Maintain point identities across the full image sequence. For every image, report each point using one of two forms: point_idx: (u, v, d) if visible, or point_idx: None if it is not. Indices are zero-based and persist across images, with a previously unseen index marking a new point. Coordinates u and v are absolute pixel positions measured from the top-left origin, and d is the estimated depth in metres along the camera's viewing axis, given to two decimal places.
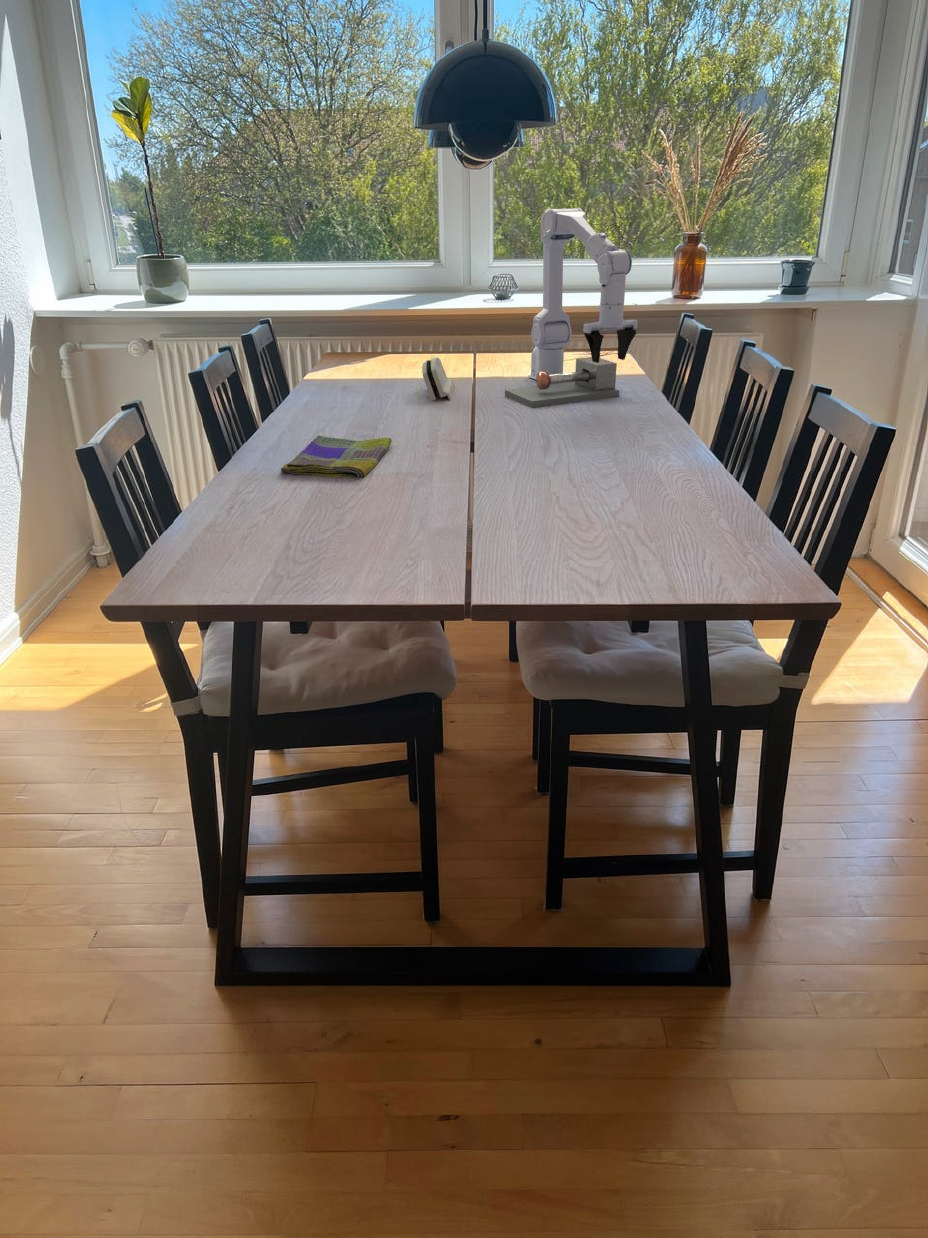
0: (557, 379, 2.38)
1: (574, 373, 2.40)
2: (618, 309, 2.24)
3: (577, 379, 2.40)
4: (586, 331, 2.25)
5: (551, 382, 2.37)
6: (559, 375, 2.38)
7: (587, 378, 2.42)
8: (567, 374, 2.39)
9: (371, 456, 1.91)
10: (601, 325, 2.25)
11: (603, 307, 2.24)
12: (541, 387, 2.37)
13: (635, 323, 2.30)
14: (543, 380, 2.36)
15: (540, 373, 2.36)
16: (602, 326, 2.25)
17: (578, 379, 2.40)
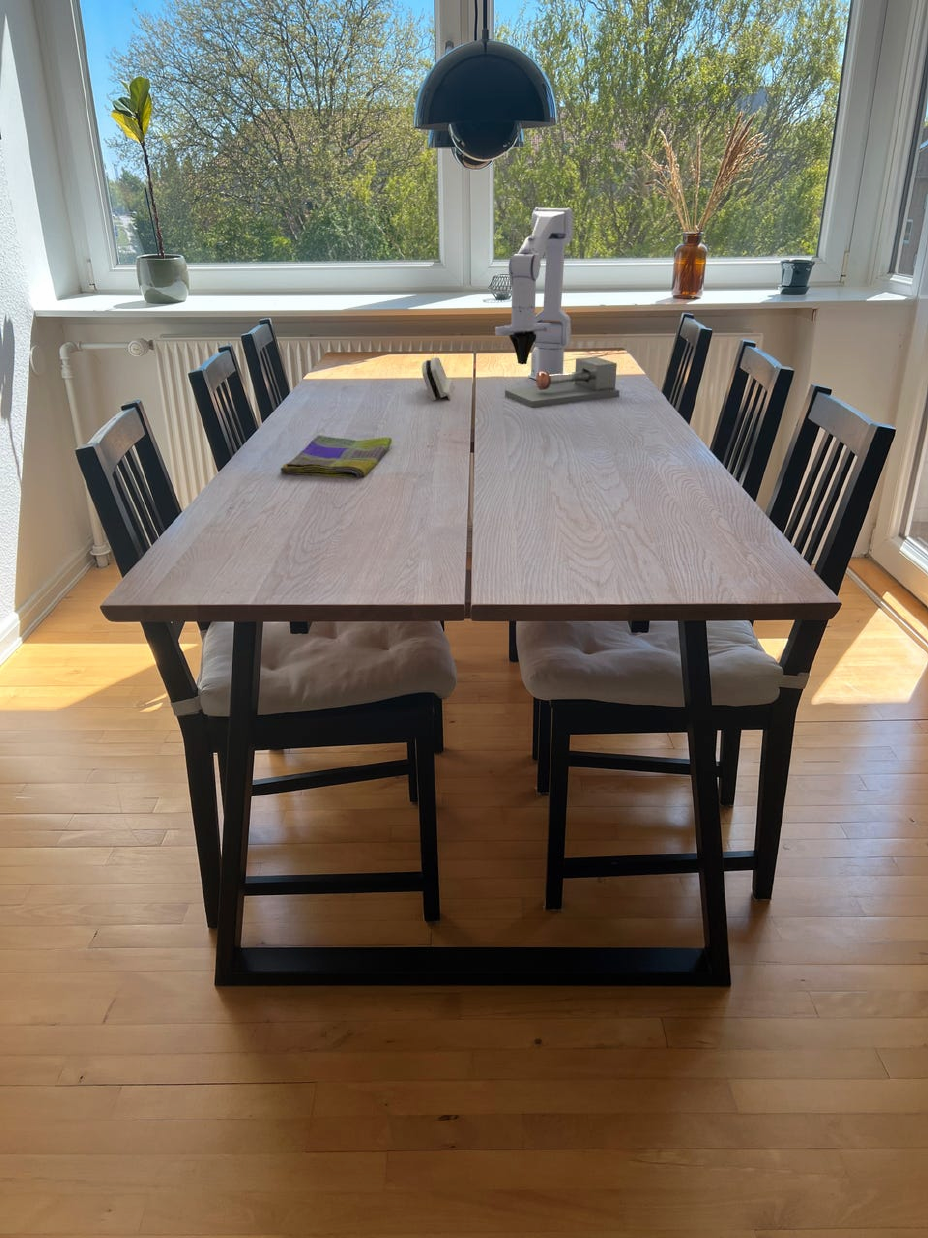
0: (557, 379, 2.38)
1: (574, 373, 2.40)
2: (529, 312, 2.25)
3: (577, 379, 2.40)
4: (497, 334, 2.26)
5: (551, 382, 2.37)
6: (559, 375, 2.38)
7: (587, 378, 2.42)
8: (567, 374, 2.39)
9: (371, 456, 1.91)
10: (512, 328, 2.26)
11: (514, 310, 2.25)
12: (541, 387, 2.37)
13: (548, 326, 2.31)
14: (543, 380, 2.36)
15: (540, 373, 2.36)
16: (513, 329, 2.26)
17: (578, 379, 2.40)
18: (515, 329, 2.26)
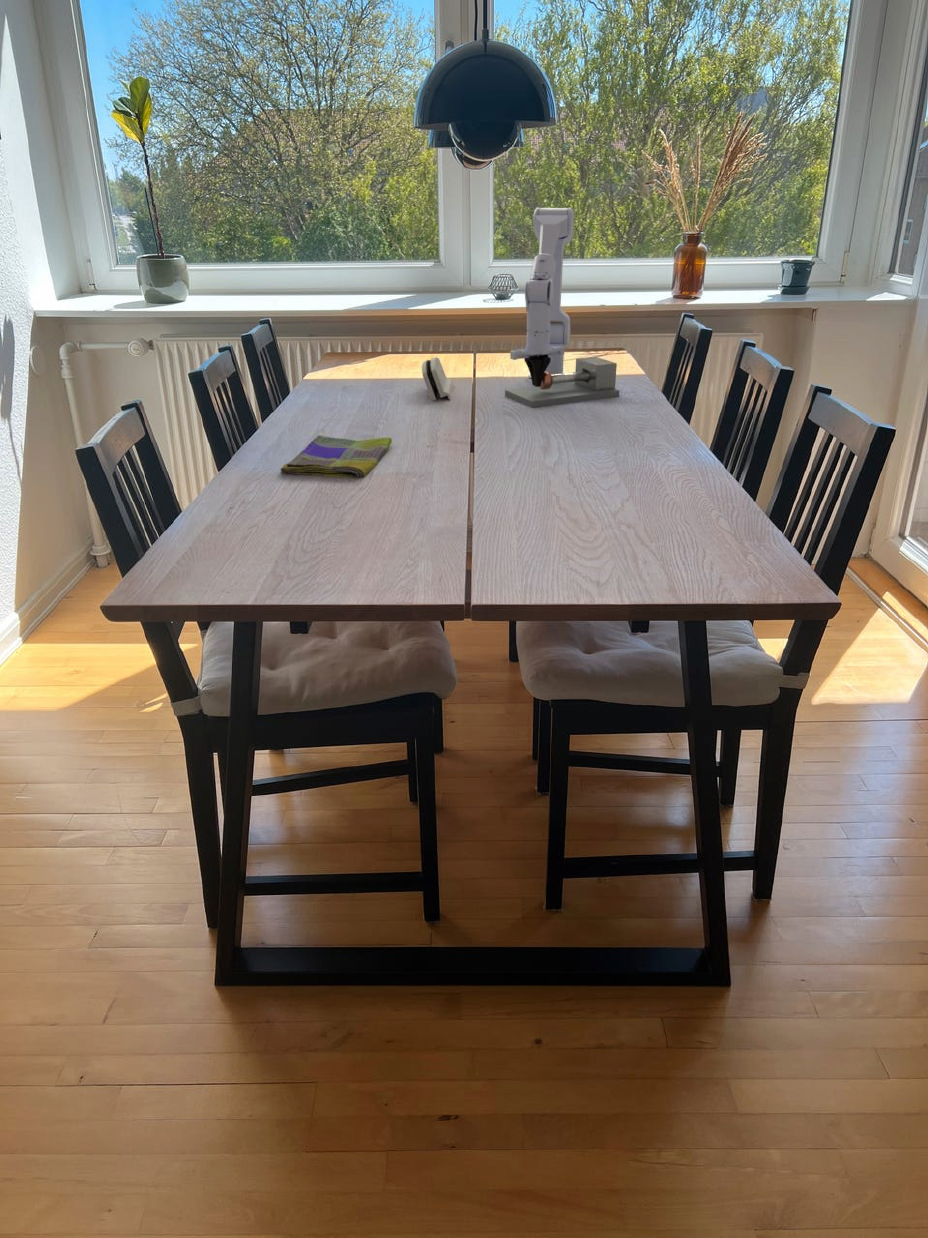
0: (559, 379, 2.38)
1: (576, 373, 2.40)
2: (544, 336, 2.29)
3: (579, 379, 2.41)
4: (512, 358, 2.30)
5: (553, 382, 2.37)
6: (561, 375, 2.38)
7: None
8: (569, 374, 2.39)
9: (371, 456, 1.91)
10: (527, 352, 2.30)
11: (529, 334, 2.30)
12: (543, 387, 2.37)
13: (562, 349, 2.35)
14: (545, 380, 2.36)
15: None
16: (528, 353, 2.30)
17: (580, 379, 2.41)
18: (530, 353, 2.30)
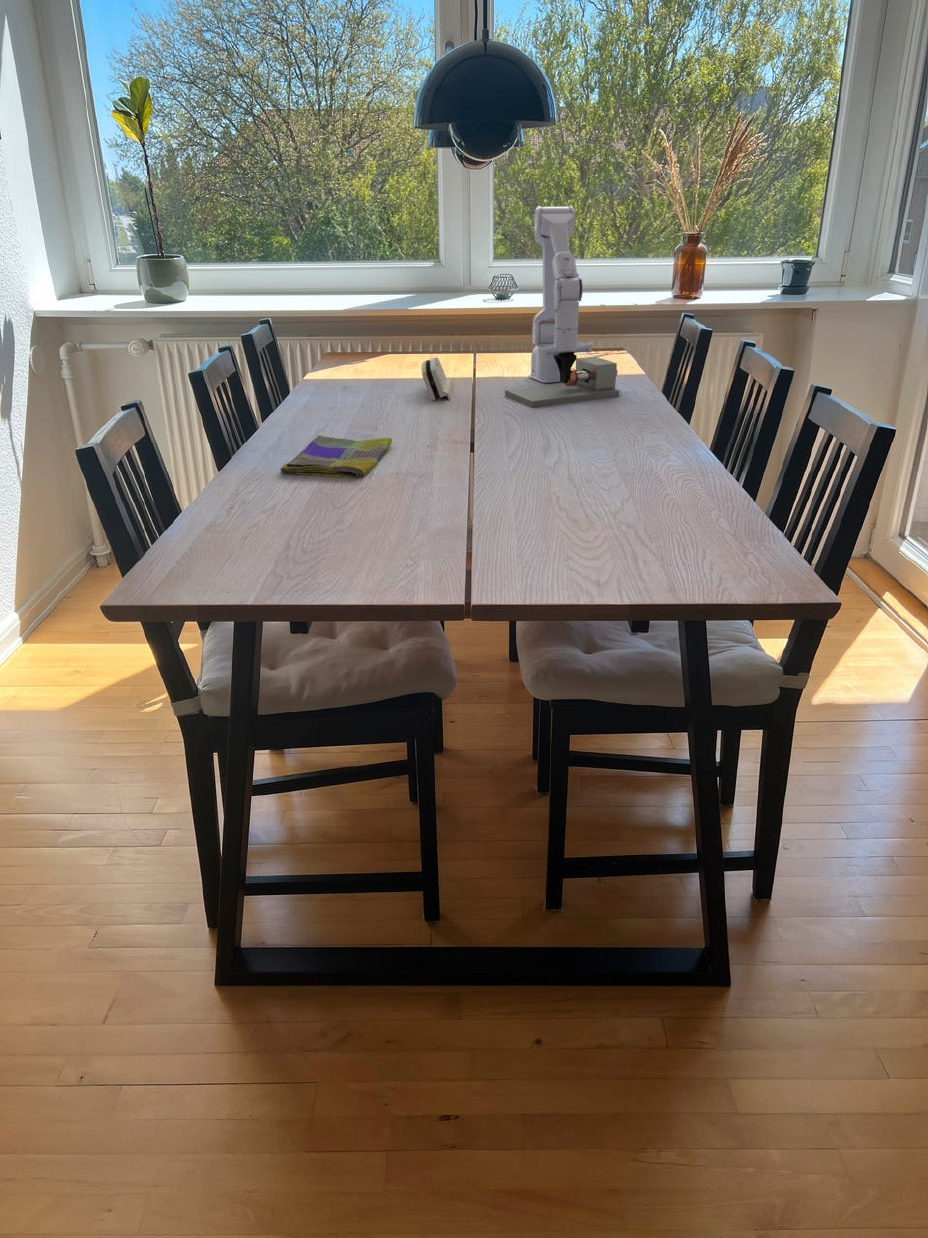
0: (584, 376, 2.41)
1: None
2: (572, 333, 2.32)
3: None
4: (541, 355, 2.34)
5: (578, 379, 2.40)
6: (586, 372, 2.41)
7: None
8: None
9: (371, 456, 1.91)
10: (555, 349, 2.33)
11: (557, 332, 2.33)
12: (568, 384, 2.40)
13: (589, 347, 2.38)
14: (570, 377, 2.39)
15: None
16: (556, 350, 2.33)
17: None
18: (558, 350, 2.33)
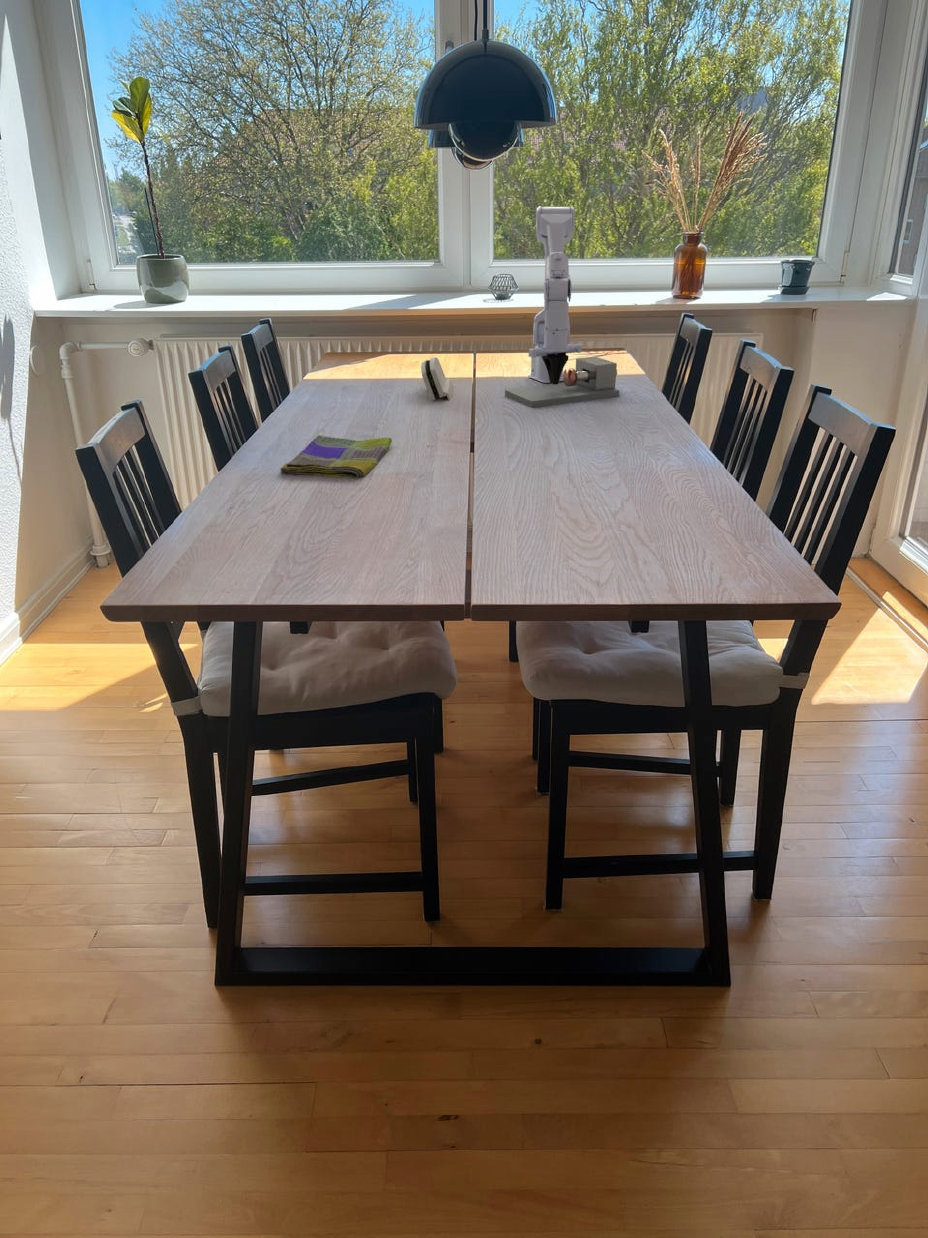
0: (583, 376, 2.41)
1: None
2: (562, 334, 2.31)
3: None
4: (531, 356, 2.32)
5: (578, 379, 2.40)
6: (586, 372, 2.41)
7: None
8: None
9: (371, 456, 1.91)
10: (545, 350, 2.32)
11: (547, 332, 2.32)
12: (568, 384, 2.40)
13: (579, 347, 2.37)
14: (570, 377, 2.39)
15: (567, 370, 2.39)
16: (546, 351, 2.32)
17: None
18: (548, 351, 2.32)
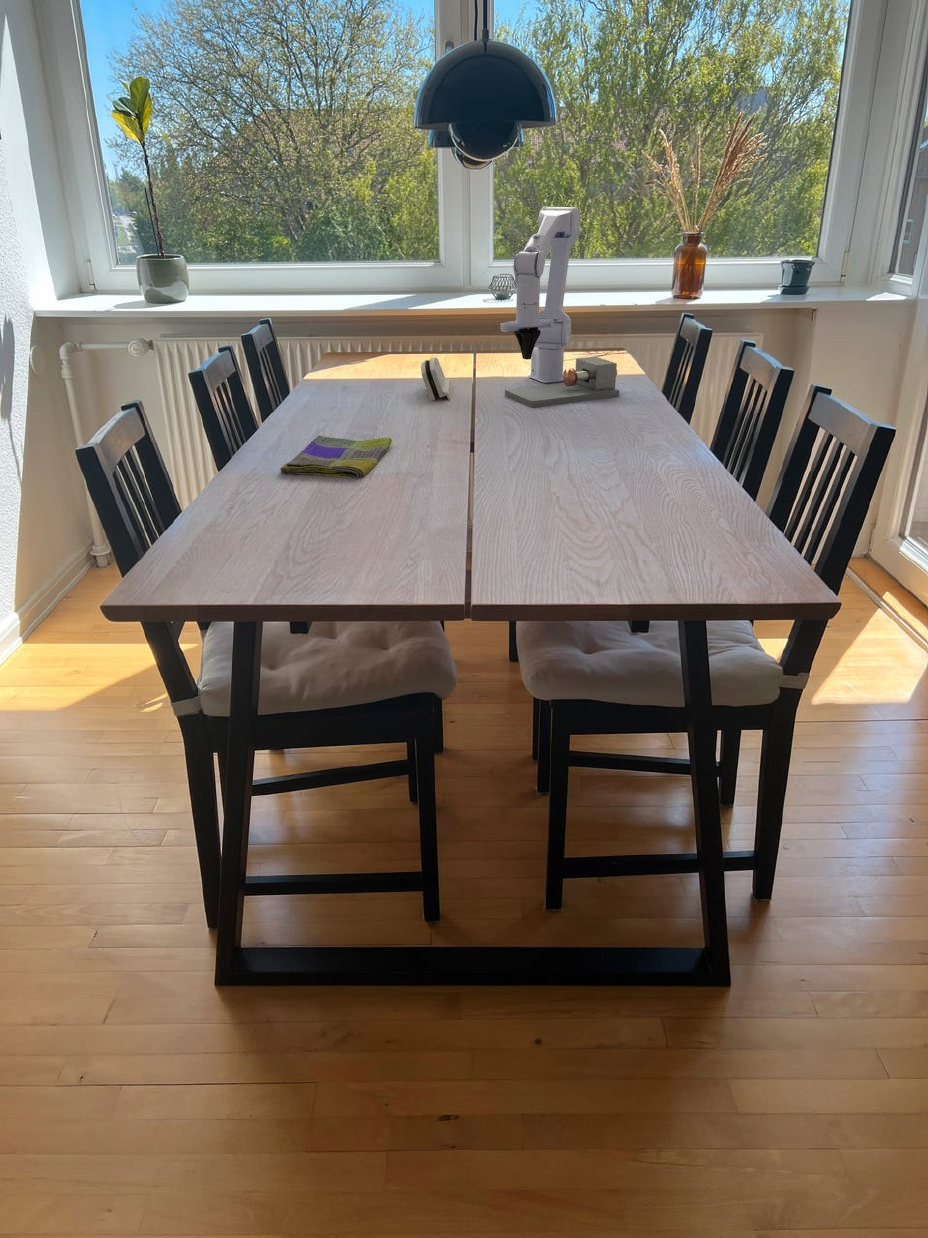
0: (583, 376, 2.41)
1: None
2: (533, 308, 2.30)
3: None
4: (503, 330, 2.31)
5: (578, 379, 2.40)
6: (586, 372, 2.41)
7: None
8: None
9: (371, 456, 1.91)
10: (517, 324, 2.31)
11: (519, 307, 2.31)
12: (568, 384, 2.40)
13: (551, 322, 2.36)
14: (570, 377, 2.39)
15: (567, 370, 2.39)
16: (518, 325, 2.31)
17: None
18: (520, 325, 2.31)
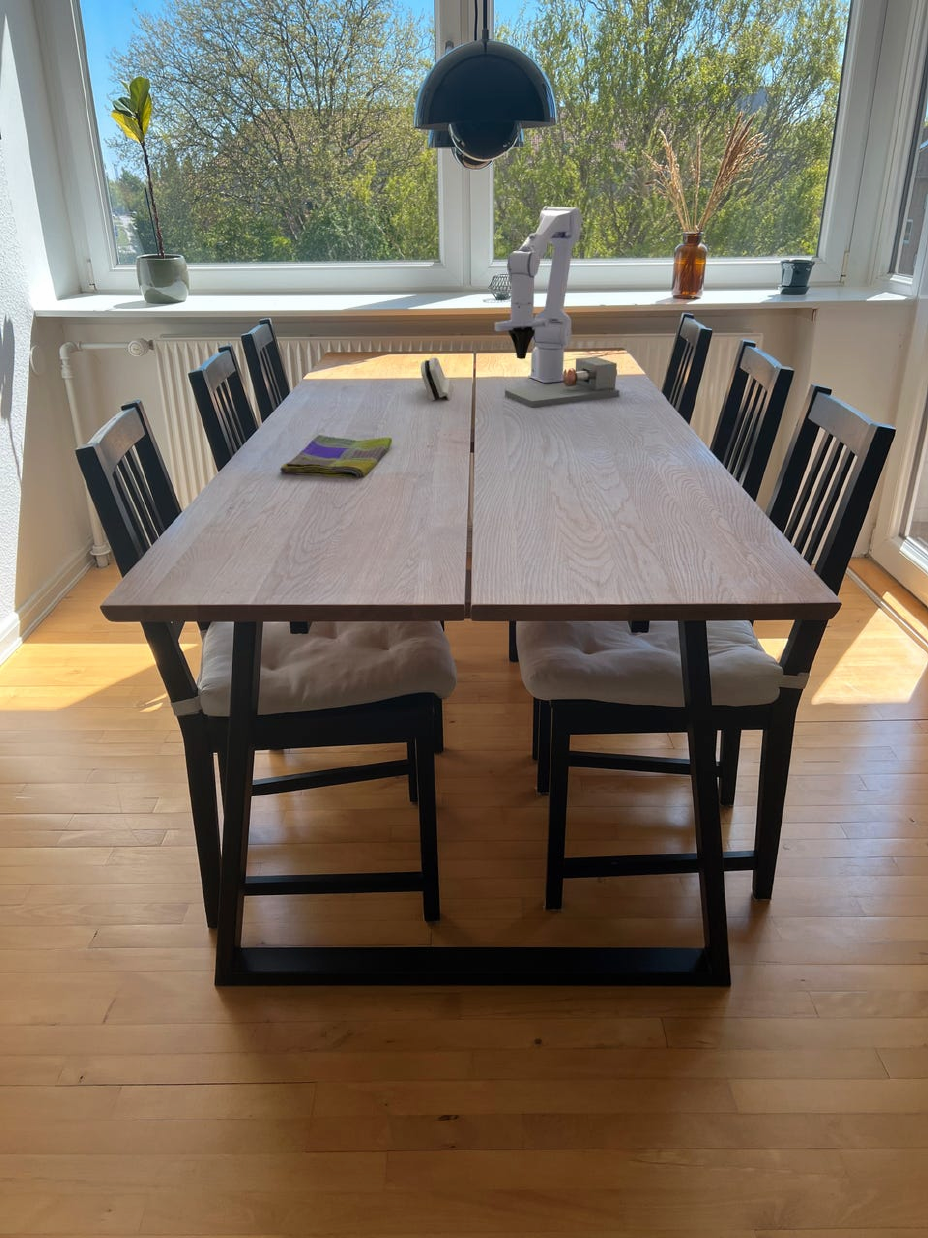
0: (583, 376, 2.41)
1: None
2: (527, 308, 2.31)
3: None
4: (497, 329, 2.32)
5: (578, 379, 2.40)
6: (586, 372, 2.41)
7: None
8: None
9: (371, 456, 1.91)
10: (511, 324, 2.32)
11: (513, 306, 2.31)
12: (568, 384, 2.40)
13: (546, 322, 2.37)
14: (570, 377, 2.39)
15: (567, 370, 2.39)
16: (512, 324, 2.32)
17: None
18: (514, 324, 2.32)
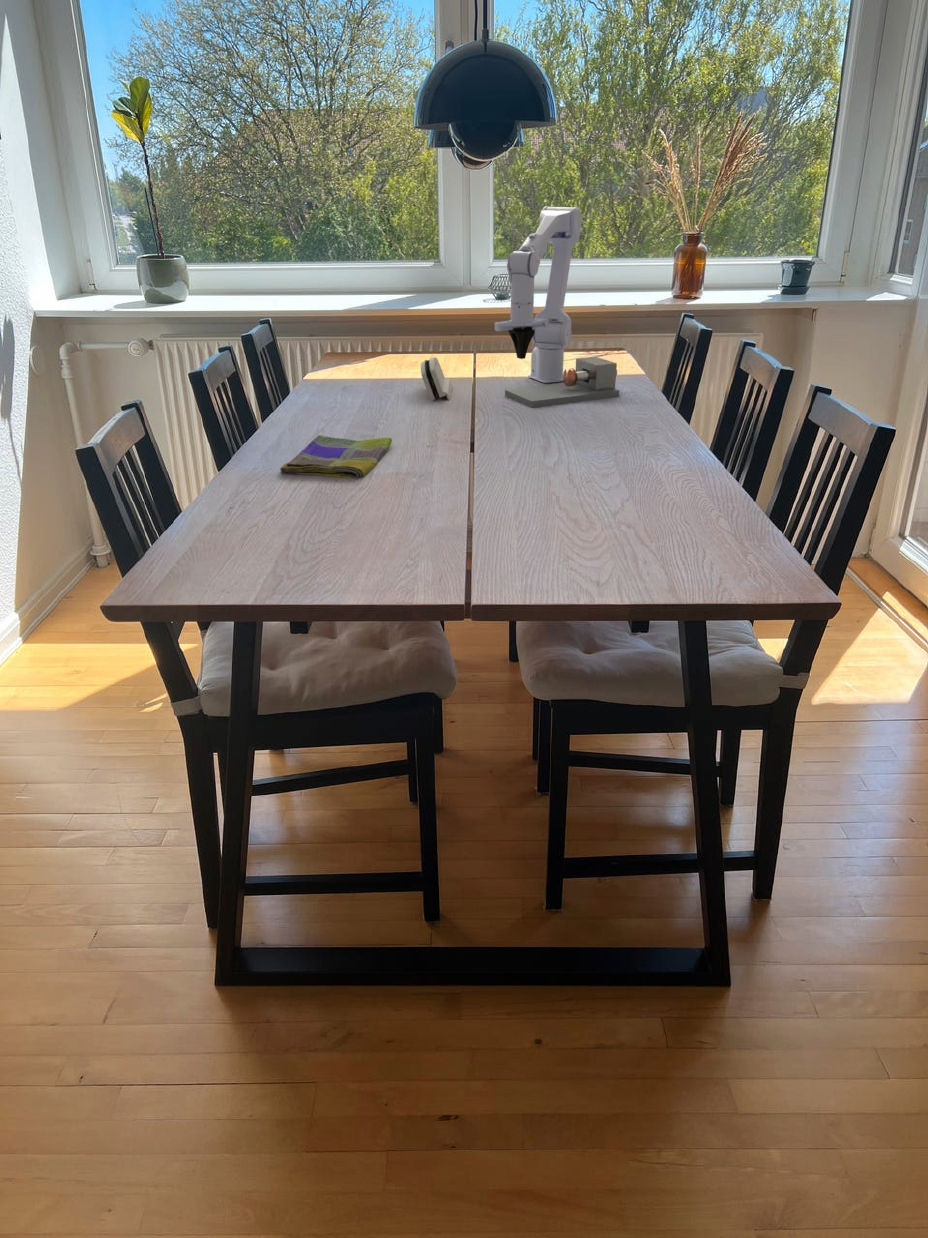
0: (583, 376, 2.41)
1: None
2: (527, 308, 2.31)
3: None
4: (497, 329, 2.32)
5: (578, 379, 2.40)
6: (586, 372, 2.41)
7: None
8: None
9: (371, 456, 1.91)
10: (511, 324, 2.32)
11: (513, 306, 2.31)
12: (568, 384, 2.40)
13: (546, 322, 2.37)
14: (570, 377, 2.39)
15: (567, 370, 2.39)
16: (512, 324, 2.32)
17: None
18: (514, 324, 2.32)
